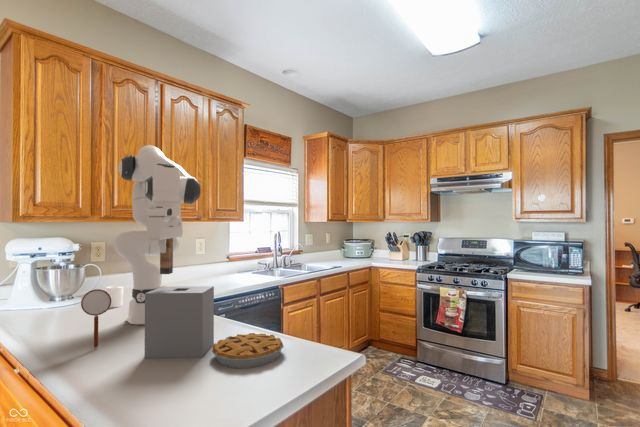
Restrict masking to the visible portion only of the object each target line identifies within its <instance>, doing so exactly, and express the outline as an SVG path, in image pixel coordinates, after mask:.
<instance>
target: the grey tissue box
mask: <svg viewBox="0 0 640 427" xmlns="http://www.w3.org/2000/svg"><path fill="white" fill-rule="evenodd" d="M214 296H215V286H214V285H206V286H205V285H203V286H201V285H198V286H196V285H195V286H193V285H192V286H190V285H189V286H188V285H187V286H179V285H178V286H165V287H160V288H157V289H155V290H152V291H150V292H147V293H145V324H144V359H166V358H167V359H170V358H171V359H173V358H174V359H178V358H179V359H181V358H182V359H183V358H184V359H186V358H189V359H190V358H193V359H194V358H198V359H199V358H203V357H205V355H206V354H207V353H208V352H209V351H210V350H211V348H213V345H214V344H215V340H214V338H215V329H214V328H215V327H214V326H215V321H214V320H215V319H214V318H215V316H214V314H215V309H214V308H215V307H214V306H215V297H214Z"/></svg>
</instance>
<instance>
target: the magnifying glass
mask: <svg viewBox="0 0 640 427" xmlns="http://www.w3.org/2000/svg"><path fill="white" fill-rule="evenodd" d="M110 305H111V297H110V295H109V294H108V293H107V292H106V290H104V289H98V288H97V289H92V290H89V291H88V292H86V293H85V294H84V295H83V297H82V298H81V301H80V306H81V310H82V311H83V312H84V313H85V314H87V315H89V316H93V318H94V319H93V348H94V350H96V351H97V350H98V348H99V316H100V315H103V314H105V313H106V312H107V311H108V310H109V309H110V308H109V307H110Z"/></svg>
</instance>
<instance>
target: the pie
mask: <svg viewBox="0 0 640 427" xmlns="http://www.w3.org/2000/svg"><path fill="white" fill-rule="evenodd" d="M284 347H285V346H284V343H283V340H282V339H281V338H280V337H275V335H274V334H270V335H269V334H268V335H267V334H266V333H254V332H251V333H248V334H247V333H246V334H237V335H236V336H232V335H229V336H226V338H224V339H220V340H218V341H217V343H216V342H214V345H213V346H212V347H211V348H212V349H211V353H212V354H213V355H214V357H215V358H216V361H218V362H219V364H221V365H223V366H226V367H228V366H229V367H230V368H234V367H235V368H236V369H245V368H246V369H247V367H249V368H255V367H258V366H259V367H260V366H263V365H266V364H269V363H271V362H273V361H275V360H276V359H278V357H279V356H280V354H281V351H282V349H283V348H284Z"/></svg>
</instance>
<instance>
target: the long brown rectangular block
mask: <svg viewBox="0 0 640 427" xmlns="http://www.w3.org/2000/svg"><path fill="white" fill-rule="evenodd" d="M169 227H173V226H169ZM166 247H167V253H160V255H159V267H160V274H162V275H170V274H173V273H174V272H173V271H174V270H173V269H174V268H173V267H174V266H173V265H174V264H173V263H174V253H173V238H170V239H166Z"/></svg>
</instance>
